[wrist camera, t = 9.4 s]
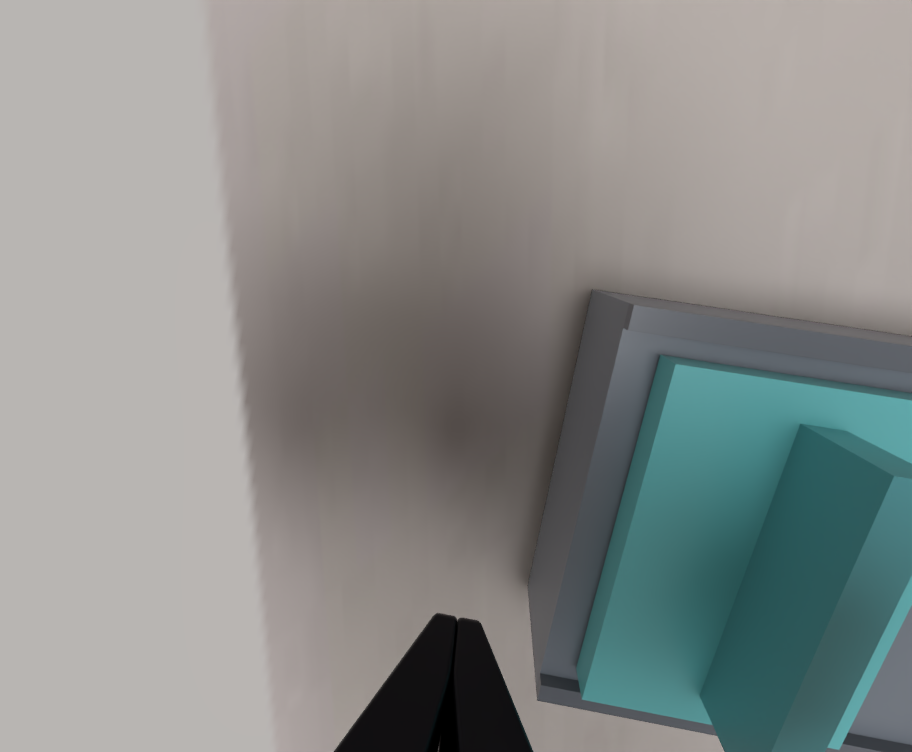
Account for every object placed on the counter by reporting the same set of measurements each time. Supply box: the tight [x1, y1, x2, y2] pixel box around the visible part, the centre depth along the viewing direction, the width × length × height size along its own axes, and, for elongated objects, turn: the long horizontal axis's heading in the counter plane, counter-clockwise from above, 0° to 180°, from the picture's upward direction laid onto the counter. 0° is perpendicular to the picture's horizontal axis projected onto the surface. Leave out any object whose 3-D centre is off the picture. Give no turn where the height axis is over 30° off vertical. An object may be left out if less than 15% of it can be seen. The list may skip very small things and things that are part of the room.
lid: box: [576, 355, 912, 752], centre depth 10 cm, size 10×7×4 cm
